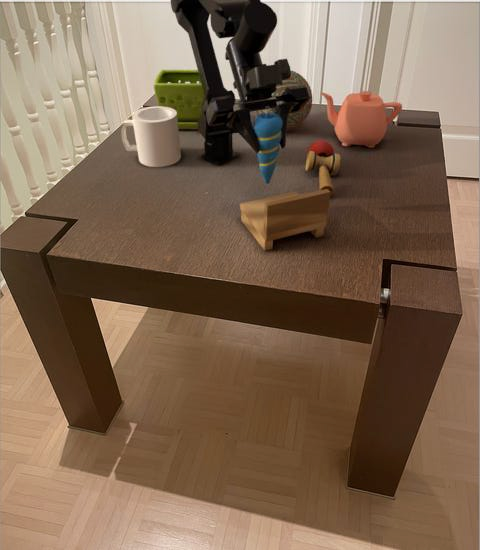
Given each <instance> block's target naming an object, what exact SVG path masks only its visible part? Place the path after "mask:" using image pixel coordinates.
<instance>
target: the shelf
mask: <svg viewBox="0 0 480 550" xmlns="http://www.w3.org/2000/svg"><path fill="white" fill-rule="evenodd" d="M330 198H331V196H330V191H329V190H328V189H324V190H320V191H319V190H316V191H311V192H306V193H303V194H299V193H298V192H297V191H291V192H287V193H282V194H277V195H276V194H275V195H272V196H267V197H263V198H258V199H254V200H249V201H244V202H240V203H239V209H240V217H241V218H240V221H241V222H242V223H243V224H244V225H245V227H246V228H247V229H248V231H249V232H250V234H251V235H252V237H254V239H255V240H256V242H257V243H258V244H259V246H261V248H262V249H263V251H266V252H267V251H269V250H273V246H274V245H273V244H274V241H275V240H279V239H282V238H287V237H290V236H295V235H299V234H302V233H307V232H310V234H311V235H312V236H313V237H314V238H320V237H323V236H324V231H325V228H326V227H327V220H328V213H329V206H330Z"/></svg>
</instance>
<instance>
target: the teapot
mask: <svg viewBox="0 0 480 550" xmlns="http://www.w3.org/2000/svg"><path fill="white" fill-rule="evenodd" d="M320 94H321V95H322V96H323V98H324V99H325V101H326V105H327V106H326V107H327V119H328V121H329V123H330V124H331V125H332V126H334V133H335V135H336V137H337V139H338V140H339V142H341V145H342V146H344V147H351V146H352V145H355V146H356V145H357V146H365V147H366V148H369V149H373V148H375V147H376V145H378V144H379V143H380V142H382V140H383V138H384V137H385V135H386V132H387V126H389V124H391V123H392V122H393V121H394V120H395V119H396V118H397V117H398V116H399V115H400V113H401V112H402V109H403V104H402V103H401V102H397V101H392V102H384V100H383V98H382V97H381V96H380V95H378V94H374V93H372V92H371V91H368V90H362V91H359V93H358V92H357V93H354V92H353V93H349V94H348V95H347V96H346V97H345V98H344V100H343V102H342V104H341V105H340V107H339V109H338V112H337V111H336V110H335V107H334V99H333V97H332V95H331V94H329V93H325V92H320ZM386 108H393V110H392V112H391V114H390V115H389V116H388V118H387V112H386Z"/></svg>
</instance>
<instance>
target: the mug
mask: <svg viewBox="0 0 480 550" xmlns="http://www.w3.org/2000/svg"><path fill="white" fill-rule="evenodd" d="M127 127H133V132H134V137H135V138H134V139H135V143H136V144H131V143H130V142H129V140H128V138H127ZM120 137H121V142H122V144H123V146H124V149H125V150H126V152H137V156H138V161H139V163H140V164H142V165H143V166H146V167H150V168H162V167H163V168H164V167H168V166H172V165H175V164H176V163H178V162H179V161H180V160H181V158H182V153H181V143H180V131H179V129H178V121H177V112H176V111H175V110H174V109H172V108H169V107H162V106H159V105H156V106H154V105H153V106H147V107H142V108H140V109H137V110H135V111H134V112H133V113H132V115H131V119H125V120H124V121H123V124H122V127H121V130H120Z"/></svg>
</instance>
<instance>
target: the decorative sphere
mask: <svg viewBox="0 0 480 550" xmlns="http://www.w3.org/2000/svg"><path fill="white" fill-rule="evenodd" d="M309 84H310V83H309V82H308V81H307V79H306V78H305V77H304V76H302V75H301V74H300V73H298V72H296V71H294V70H291V76H290V78H288V79H286V80H283V84H282V85H280V84H279V85H277V86H276V88H277V90H276V91H275V93H272V97H274V96H281V95H282V94H283V92H284V91H285V89H286V88H287V87H293V86H300V85H304V86H306V87H307V88H308V90H309V93H310V97H311V98H310V99H309V101H308V102H307V103H306V104H305V105H304V107H303V108H302V109H301V110H300V111H298V112H296V113H290V114H288V118H287V127H286V132H287V131H291V130H294V129H296V128H298V127H299V126H301V125H302V124H303V123H304V122H305V121H306V120H307V118H308V117H309V114H310V113H311V110H312V108H313V107H312V106H313V93H312V89H311V86H310V85H309ZM265 110H266V109H264V110H257V111H256V113H257V116H258V115H259V114H262V113H265ZM269 110H270V113H273V110H272V108H270V109H269Z"/></svg>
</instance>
